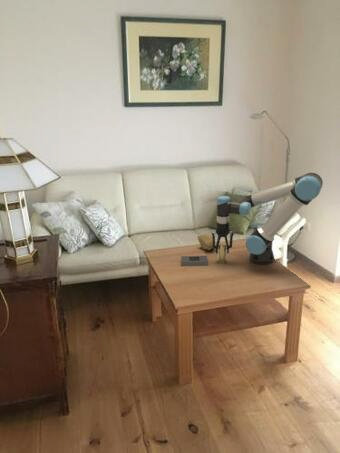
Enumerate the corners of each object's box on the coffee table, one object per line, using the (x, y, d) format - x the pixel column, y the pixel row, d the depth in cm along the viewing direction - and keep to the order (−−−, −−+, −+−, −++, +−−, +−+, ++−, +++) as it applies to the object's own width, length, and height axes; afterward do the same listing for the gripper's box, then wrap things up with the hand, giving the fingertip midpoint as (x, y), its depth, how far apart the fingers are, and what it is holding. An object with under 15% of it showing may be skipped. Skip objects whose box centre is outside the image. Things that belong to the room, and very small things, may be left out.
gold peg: (225, 260, 226) (225, 244, 222) (226, 263, 221) (226, 246, 218) (217, 260, 226) (218, 244, 222) (218, 263, 222) (219, 246, 218)
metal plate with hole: (206, 259, 228) (206, 255, 227) (208, 265, 219) (208, 261, 219) (181, 259, 228) (181, 256, 227) (181, 265, 220) (181, 262, 219)
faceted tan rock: (200, 245, 252) (191, 242, 243) (208, 232, 250) (199, 228, 241) (215, 256, 243) (206, 254, 234) (224, 243, 241) (215, 239, 232)
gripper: (236, 219, 219) (234, 255, 226) (207, 220, 219) (207, 256, 226) (238, 223, 212) (237, 260, 219) (209, 224, 212) (208, 260, 219)
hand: (222, 258), depth 223 cm, fingers closed on gold peg, 4 cm apart
